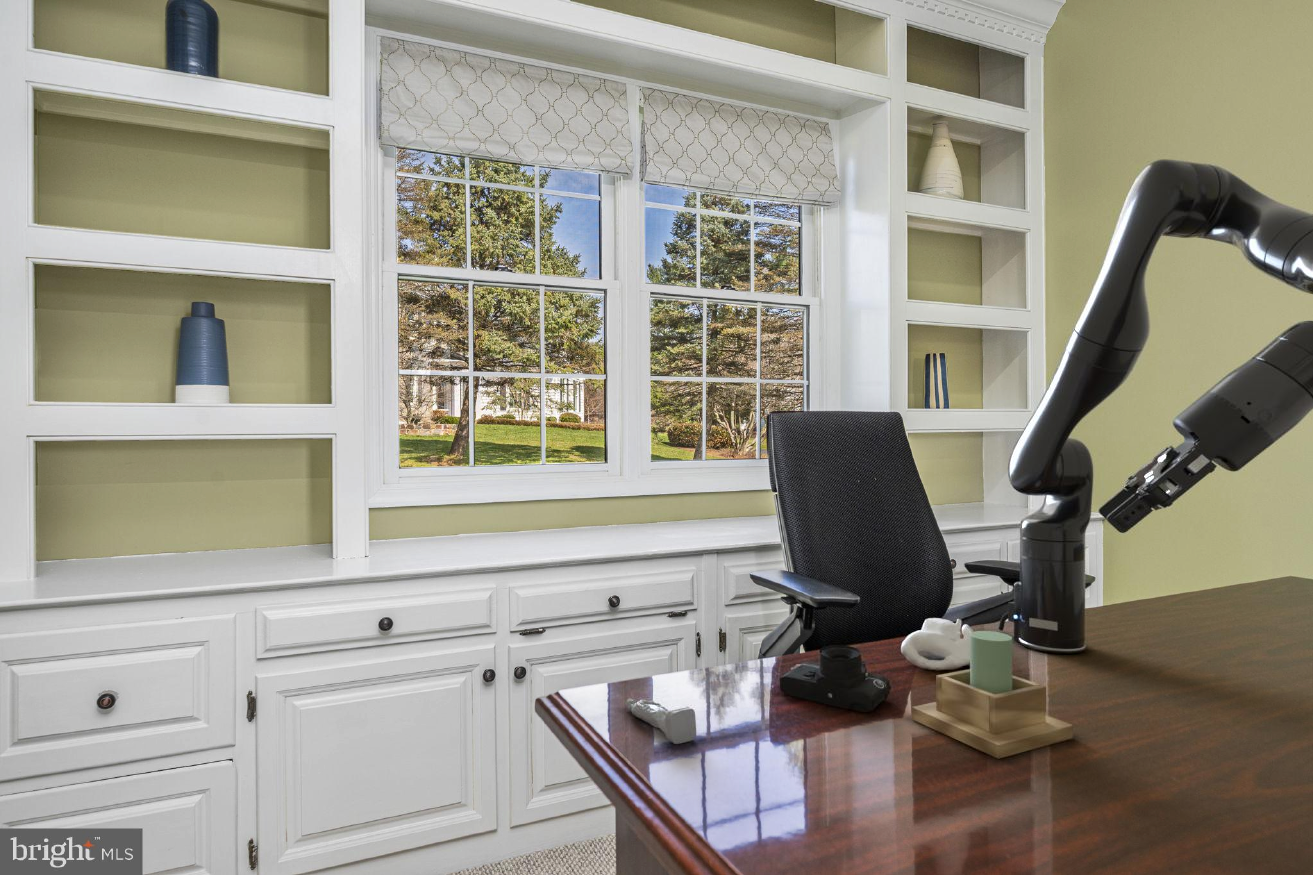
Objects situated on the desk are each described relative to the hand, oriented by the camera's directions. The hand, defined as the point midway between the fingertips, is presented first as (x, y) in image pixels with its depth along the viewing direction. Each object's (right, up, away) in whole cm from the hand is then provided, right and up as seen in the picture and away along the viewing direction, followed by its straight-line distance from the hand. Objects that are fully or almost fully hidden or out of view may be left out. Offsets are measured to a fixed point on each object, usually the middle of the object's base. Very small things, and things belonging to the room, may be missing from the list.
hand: (1108, 521), depth 80 cm
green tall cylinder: (-10, -23, +5) cm, 25 cm away
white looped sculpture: (-6, -24, +28) cm, 38 cm away
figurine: (-49, -24, +6) cm, 55 cm away
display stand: (-10, -24, +5) cm, 27 cm away
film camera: (-26, -24, +16) cm, 39 cm away
